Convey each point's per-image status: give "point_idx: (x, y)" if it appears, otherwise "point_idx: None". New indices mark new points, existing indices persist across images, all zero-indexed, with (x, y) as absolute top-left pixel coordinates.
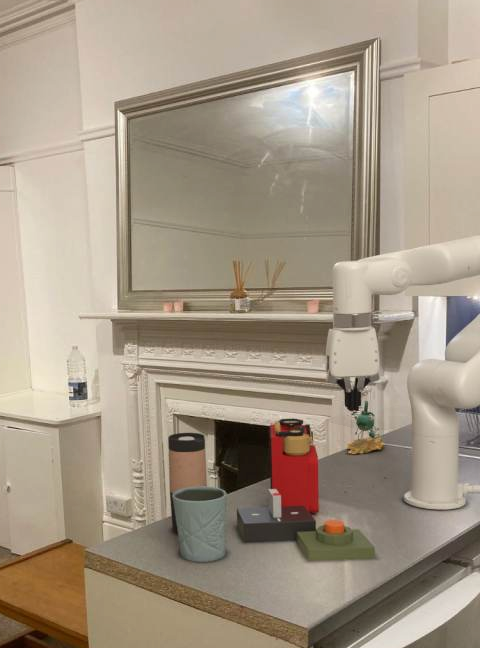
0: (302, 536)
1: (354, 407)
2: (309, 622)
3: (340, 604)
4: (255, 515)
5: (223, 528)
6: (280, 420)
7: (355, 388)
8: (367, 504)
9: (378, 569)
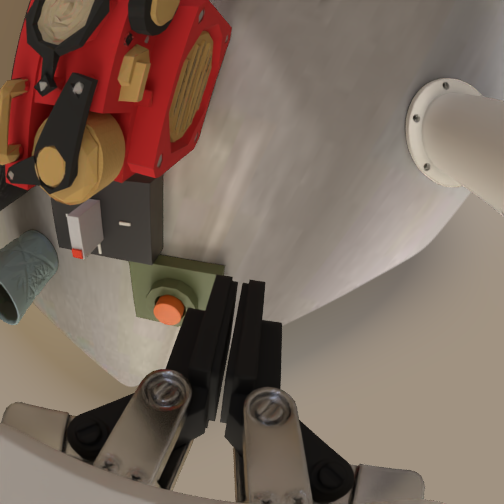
0: (134, 277)
1: (227, 354)
2: (131, 386)
3: None
4: None
5: (39, 290)
6: (36, 2)
7: (228, 438)
8: (332, 89)
9: None
